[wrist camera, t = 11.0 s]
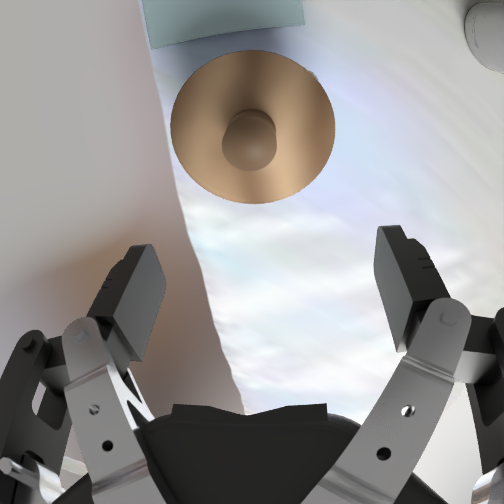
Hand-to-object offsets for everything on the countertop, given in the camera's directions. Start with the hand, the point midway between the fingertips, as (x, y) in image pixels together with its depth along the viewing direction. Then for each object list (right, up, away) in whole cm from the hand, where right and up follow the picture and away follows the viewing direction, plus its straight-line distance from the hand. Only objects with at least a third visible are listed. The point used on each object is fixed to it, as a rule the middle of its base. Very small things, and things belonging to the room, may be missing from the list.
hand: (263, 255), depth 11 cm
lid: (0, +11, +15) cm, 19 cm away
